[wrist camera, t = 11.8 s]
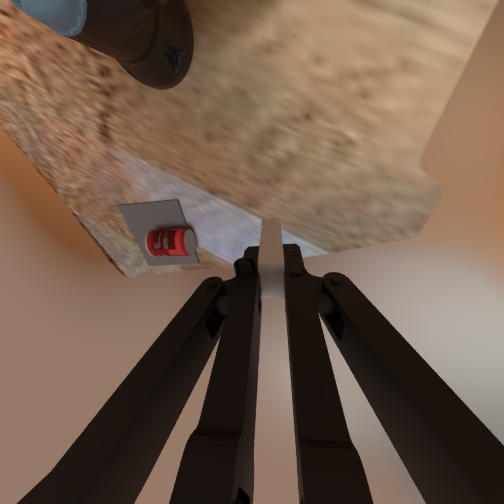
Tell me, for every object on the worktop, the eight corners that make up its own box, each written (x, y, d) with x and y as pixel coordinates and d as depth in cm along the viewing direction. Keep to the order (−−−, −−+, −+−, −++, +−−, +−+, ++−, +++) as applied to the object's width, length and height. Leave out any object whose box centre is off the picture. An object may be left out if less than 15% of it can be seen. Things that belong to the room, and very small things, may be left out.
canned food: (198, 243, 57) (165, 244, 58) (189, 222, 51) (153, 224, 52) (191, 261, 51) (154, 262, 53) (180, 239, 46) (139, 241, 47)
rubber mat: (119, 205, 52) (117, 205, 51) (178, 199, 49) (177, 200, 49) (149, 264, 63) (148, 265, 63) (199, 262, 60) (198, 263, 60)
